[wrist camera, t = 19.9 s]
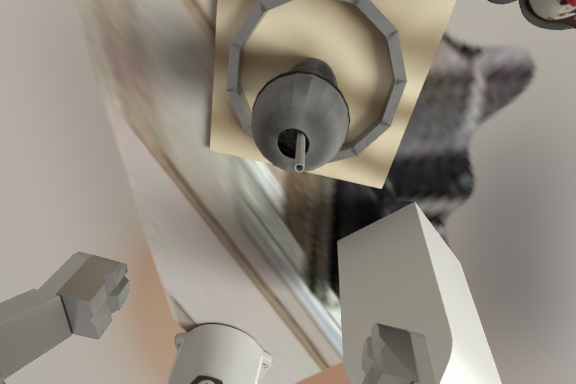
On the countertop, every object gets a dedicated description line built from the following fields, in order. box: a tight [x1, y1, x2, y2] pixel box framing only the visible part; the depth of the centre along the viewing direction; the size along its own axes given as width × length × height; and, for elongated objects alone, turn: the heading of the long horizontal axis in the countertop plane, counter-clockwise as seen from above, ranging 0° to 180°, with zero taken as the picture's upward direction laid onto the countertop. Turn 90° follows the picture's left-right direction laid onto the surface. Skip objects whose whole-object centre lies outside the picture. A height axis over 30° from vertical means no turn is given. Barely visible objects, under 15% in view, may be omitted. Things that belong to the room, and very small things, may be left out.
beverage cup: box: [251, 58, 350, 173], centre depth 26 cm, size 7×7×20 cm
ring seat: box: [210, 0, 457, 189], centre depth 34 cm, size 21×21×3 cm
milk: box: [337, 202, 502, 384], centre depth 35 cm, size 12×12×26 cm
